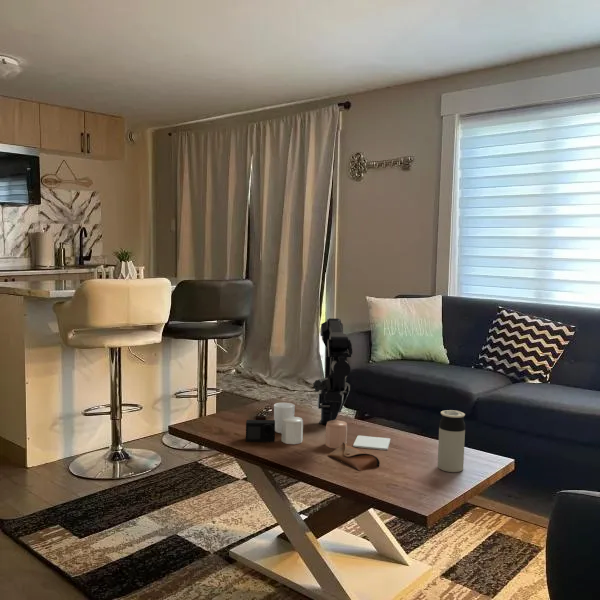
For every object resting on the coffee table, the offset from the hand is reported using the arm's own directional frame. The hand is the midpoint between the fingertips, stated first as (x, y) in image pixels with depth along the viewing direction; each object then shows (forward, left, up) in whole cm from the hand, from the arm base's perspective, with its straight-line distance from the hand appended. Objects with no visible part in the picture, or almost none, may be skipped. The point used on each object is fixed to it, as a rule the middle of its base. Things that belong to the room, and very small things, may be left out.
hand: (336, 415), depth 213 cm
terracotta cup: (0, 0, -11) cm, 11 cm away
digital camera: (+3, -27, -11) cm, 29 cm away
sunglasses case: (+14, +8, -11) cm, 20 cm away
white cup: (-11, -22, -11) cm, 27 cm away
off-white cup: (0, -16, -11) cm, 19 cm away
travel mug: (+12, +39, -11) cm, 42 cm away
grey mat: (-6, +12, -11) cm, 17 cm away
